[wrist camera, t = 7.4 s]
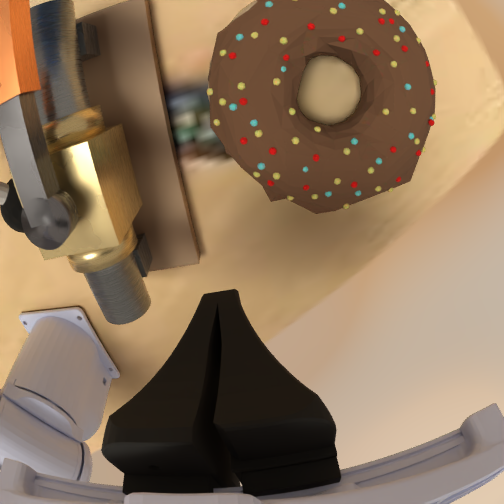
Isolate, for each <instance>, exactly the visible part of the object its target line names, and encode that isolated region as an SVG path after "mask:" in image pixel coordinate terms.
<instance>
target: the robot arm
mask: <svg viewBox="0 0 504 504" xmlns="http://www.w3.org/2000/svg"><path fill="white" fill-rule="evenodd" d="M79 316H80V317H79ZM81 317H82V318H81ZM19 319H20V321H21V322H22V324H23V325H24V327H25V329H26V330H27V332H28V333H29V335H28V337H27V339H26V341H25V343H24V345H23V347H22V349H21V351H20V353H19V355H18V357H17V359H16V361H15V363H14V365H13V367H12V369H11V371H10V373H9V375H8V377H7V379H6V382H5V384H4V386H3V388H2V389H0V470H1V471H0V504H449V503H451V502H453V501H455V500H457V499H459V498H461V497H463V496H465V495H467V494H469V493H470V492H472V491H474V490H476V489H478V488H479V487H481V486H483V485H485V484H486V483H488V482H490V481H491V480H493V479H494V478H495V477H497V476H498V475H499V474H500V473H501V472H503V471H504V417H503V415H502V413H501V412H500V410H499V408H498V406H497V404H496V403H493V404H491V405H489V406H488V407H486V408H484V409H482V410H480V411H478V412H476V413H474V414H472V415H470V416H469V417H468V418H467V419H466V420H465V421H464V422H463V424H462V425H461V427H460V428H459V429H457V430H454V431H452V432H450V433H448V434H445V435H443V436H441V437H439V438H436V439H434V440H432V441H429V442H426V443H424V444H421V445H419V446H416V447H413V448H411V449H408V450H405V451H402V452H399V453H396V454H394V455H391V456H387V457H384V458H382V459H378V460H375V461H371V462H368V463H365V464H361V465H358V466H354V467H350V468H346V469H342V470H340V469H339V465H338V461H337V457H336V456H337V451H336V447H335V437H336V425H335V422H334V421H333V418H332V416H331V414H330V412H329V411H328V409H327V408H326V406H325V405H324V403H323V402H322V400H321V399H320V398H319V396H318V395H317V394H316V393H314V392H313V391H311V390H310V389H309V388H307V387H306V386H305V385H303V384H302V383H301V382H300V381H299V380H297V379H296V378H295V377H294V376H293V375H292V374H291V373H289V371H287V369H286V368H285V367H284V366H282V365H281V364H280V363H279V362H278V360H277V359H276V358H275V357H274V356H273V355H272V354H271V352H270V351H269V350H268V349H267V347H266V346H265V345H264V344H263V342H262V341H261V339H260V338H259V337H258V335H257V334H256V332H255V331H254V329H253V327H252V326H251V324H250V322H249V320H248V318H247V316H246V315H245V312H244V310H243V308H242V306H241V302H240V297H239V293H238V291H237V290H236V289H232V290H226V291H220V292H213V293H207V294H204V295H203V296H202V298H201V301H200V303H199V305H198V308H197V310H196V312H195V314H194V316H193V318H192V320H191V322H190V324H189V326H188V328H187V330H186V331H185V333H184V335H183V337H182V338H181V340H180V342H179V343H178V345H177V347H176V348H175V350H174V351H173V353H172V354H171V356H170V357H169V358H168V360H167V361H166V362H165V364H164V365H163V366H162V368H161V369H160V370H159V371H158V372H157V374H156V375H155V376H154V377H153V378H152V379H151V380H150V382H149V383H148V384H147V385H146V386H145V387H144V388H143V389H142V390H141V391H140V392H139V393H137V394H136V395H135V396H134V397H133V398H132V399H131V400H130V401H128V402H127V403H126V404H125V405H123V406H122V407H121V408H119V409H118V410H117V411H116V412H114V413H113V414H112V415H110V416H109V419H108V422H107V425H106V429H105V433H104V438H103V444H102V449H101V451H102V453H103V455H104V457H105V458H106V459H107V460H108V461H109V462H110V463H112V464H113V465H114V466H115V467H117V468H118V469H119V470H120V471H122V472H123V473H124V482H123V486H113V485H104V484H96V483H90V482H89V480H90V477H91V472H92V457H91V454H90V450H89V447H88V445H87V444H86V443H85V442H83V441H85V440H87V439H89V438H91V437H92V436H93V435H94V434H95V433H96V431H97V430H98V428H99V427H100V424H101V421H102V417H103V413H104V409H105V404H106V400H107V396H108V392H109V388H110V384H111V380H112V379H113V378H119V377H120V373H119V371H118V370H117V368H116V366H115V365H114V363H113V362H112V360H111V359H110V357H109V355H108V354H107V352H106V350H105V349H104V347H103V345H102V344H101V342H100V340H99V339H98V337H97V335H96V333H95V332H94V330H93V328H92V326H91V325H90V323H89V321H88V319H87V317H86V316H85V314H84V312H83V310H82V309H81V308H79V307H72V308H63V309H54V310H45V311H36V312H26V313H21V314H20V315H19ZM240 482H241V484H242V486H241V487H240Z"/></svg>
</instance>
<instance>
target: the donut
mask: <svg viewBox="0 0 504 504" xmlns="http://www.w3.org/2000/svg"><path fill="white" fill-rule="evenodd" d="M318 55H328V56H337V57H339V58H340V59H342V60H343V61H345V62H347V63H348V64H350V65H351V66H352V67H353V68H354V70H355V71H356V73H357V74H358V76H359V78H360V85H361V100H360V102H359V104H358V106H357V108H356V111H355V113H354V114H353V115H351V116H350V117H349V118H348V119H347V120H346V121H344V122H341V123H338V124H334V125H331V126H326V125H323V124H320V123H317V122H314V121H311V120H309V119H307V118H306V117H305V116H304V115H303V114H302V112H301V111H300V110H299V106H298V102H297V94H298V90H299V86H300V81H301V77H302V73H303V70H304V68H305V67H306V65H307V63H308V62H309V60H310V58H313V57H315V56H318ZM208 81H209V84H208V90H207V94H208V97H209V102H210V125H211V128H212V129H213V131H214V132H215V134H216V135H217V136H218V138H219V139H220V141H221V142H222V143H223V145H224V147H225V151H226V153H227V154H229V155H230V156H232V157H233V158H234V159H235V161H236V162H237V163H238V164H239V165H240V166H241V168H243V169H244V170H245V171H246V172H247V173H248V174H250V175H251V176H252V177H253V178H254V179H255V180H256V181H258V182H259V183H260V184H261V185H262V186H263V188H264V190H265V191H266V193H267V195H268V197H269V199H270V201H271V202H272V201H276V200H281V199H285V198H286V199H288V200H290V201H292V202H294V203H296V204H298V205H300V206H302V207H304V208H306V209H308V210H310V211H312V212H313V213H315V214H319V213H325V212H331V211H336V210H338V209H341V208H344V209H348V208H349V205H351V204H354V203H357V202H359V201H362V200H364V199H367V198H370V197H372V196H375V195H377V194H380V193H382V192H385V191H388V192H392V191H393V188H395V187H397V186H400V185H402V184H404V183H407V182H409V181H410V180H411V178H412V175H413V172H414V170H415V167H416V164H417V162H418V159H419V156H420V155H421V152H425V147H424V144H425V141H426V138H427V136H428V133H429V130H430V127H431V126H433V125H434V119H435V118H436V115H435V85H437V81H436V80H433V76H432V72H431V68H430V64H429V60H428V57H427V54H426V52H425V49H424V47H423V46H422V44H421V40H420V39H419V38H418V37H417V36H416V34H415V32H414V31H413V29H412V28H411V26H410V25H409V23H408V22H407V21H406V20H405V19H404V18H403V17H402V16H401V15H400V12H399V11H398V10H395V9H394V8H392V7H391V6H390V5H389V4H388V3H387V2H386V1H384V0H255V1H253V2H252V3H251V4H249V5H248V6H246V7H245V8H243V9H242V10H241V11H240V12H239V13H238V14H237V15H236V17H235V18H234V19H233V20H232V22H231V23H230V24H229V25H228V26H227V27H226V28H225V29H223V30H222V31H220V32H219V33H218V34H217V38H216V43H215V47H214V52H213V56H212V60H211V62H210V71H209V76H208Z"/></svg>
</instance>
